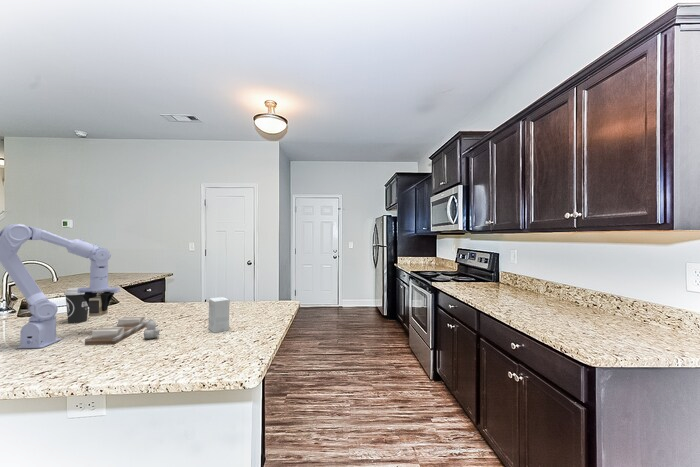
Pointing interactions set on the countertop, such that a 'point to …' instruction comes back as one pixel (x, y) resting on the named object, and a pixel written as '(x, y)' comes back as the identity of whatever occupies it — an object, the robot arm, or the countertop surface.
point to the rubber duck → (151, 330)
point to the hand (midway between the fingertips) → (98, 310)
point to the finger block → (96, 307)
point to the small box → (218, 314)
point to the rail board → (117, 331)
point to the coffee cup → (76, 305)
